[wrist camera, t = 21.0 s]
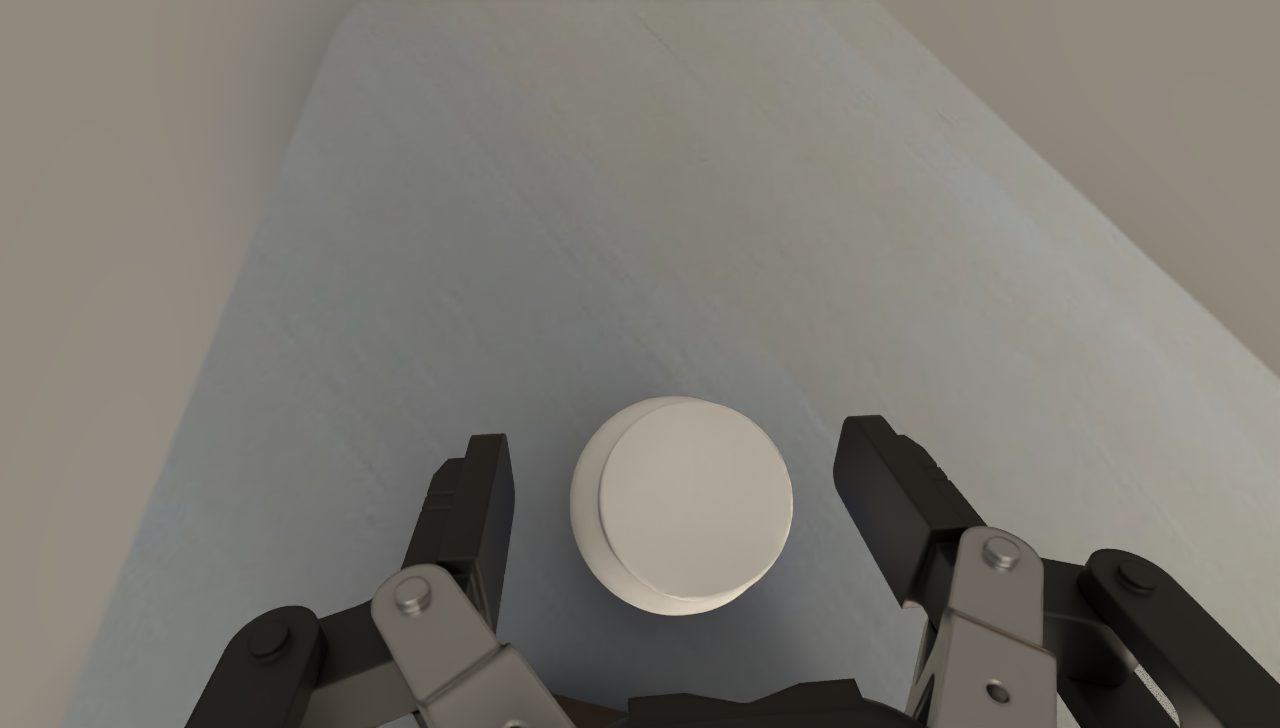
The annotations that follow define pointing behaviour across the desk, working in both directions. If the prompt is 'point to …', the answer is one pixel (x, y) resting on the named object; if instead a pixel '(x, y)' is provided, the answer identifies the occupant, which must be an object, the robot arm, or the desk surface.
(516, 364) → the desk surface
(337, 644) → the robot arm
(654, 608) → the pill bottle
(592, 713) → the panel
